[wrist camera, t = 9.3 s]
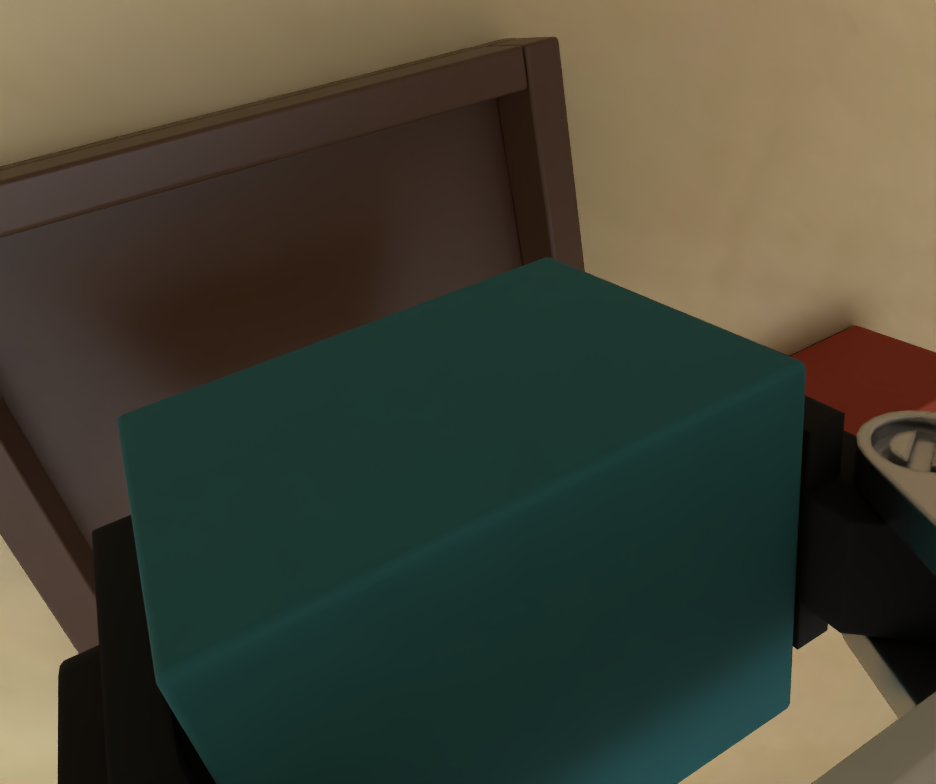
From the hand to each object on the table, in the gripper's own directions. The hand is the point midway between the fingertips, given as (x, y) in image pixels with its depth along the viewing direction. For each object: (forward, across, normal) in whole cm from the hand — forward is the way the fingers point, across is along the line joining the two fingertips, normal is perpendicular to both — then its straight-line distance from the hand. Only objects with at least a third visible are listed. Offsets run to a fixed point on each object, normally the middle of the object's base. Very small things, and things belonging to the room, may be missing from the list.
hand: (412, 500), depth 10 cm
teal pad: (+1, 0, 0) cm, 1 cm away
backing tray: (+7, 0, +3) cm, 8 cm away
